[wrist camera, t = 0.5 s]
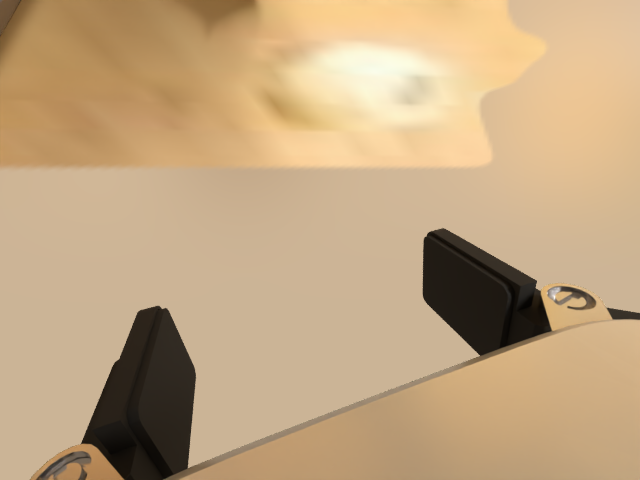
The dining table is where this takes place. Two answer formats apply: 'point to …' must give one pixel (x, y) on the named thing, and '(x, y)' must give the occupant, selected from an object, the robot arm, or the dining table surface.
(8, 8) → the button board
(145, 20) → the dining table surface
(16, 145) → the dining table surface
